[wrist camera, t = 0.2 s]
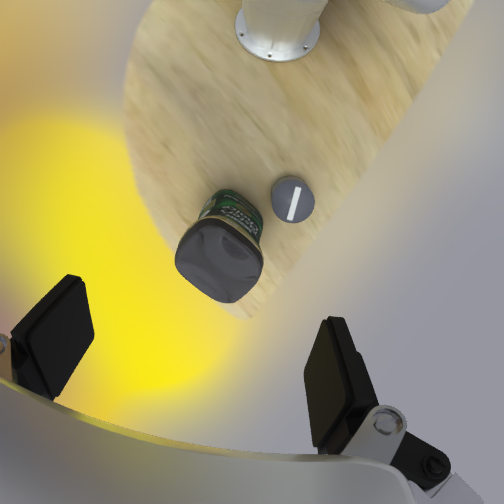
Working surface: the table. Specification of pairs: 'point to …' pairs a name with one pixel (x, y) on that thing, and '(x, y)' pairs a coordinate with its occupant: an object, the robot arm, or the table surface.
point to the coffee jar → (223, 248)
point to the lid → (292, 199)
